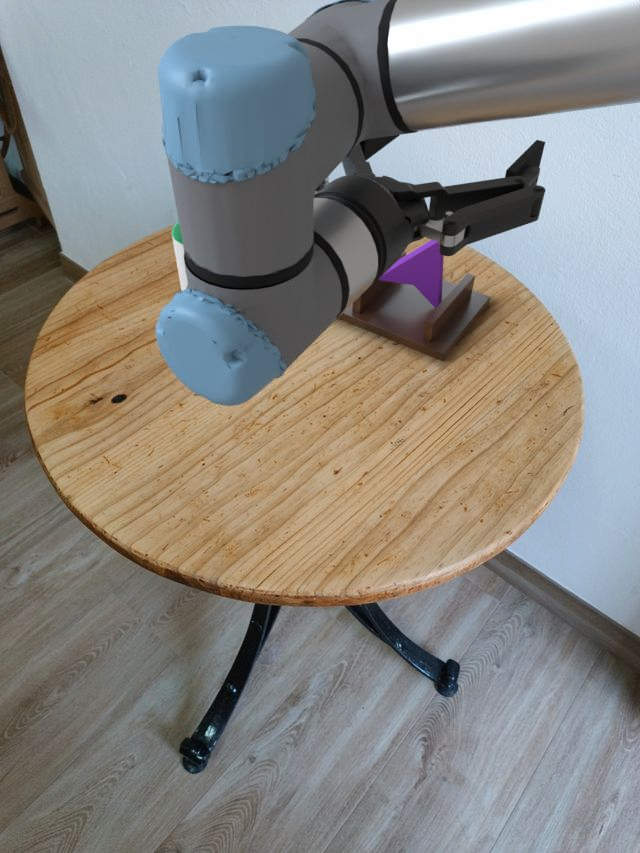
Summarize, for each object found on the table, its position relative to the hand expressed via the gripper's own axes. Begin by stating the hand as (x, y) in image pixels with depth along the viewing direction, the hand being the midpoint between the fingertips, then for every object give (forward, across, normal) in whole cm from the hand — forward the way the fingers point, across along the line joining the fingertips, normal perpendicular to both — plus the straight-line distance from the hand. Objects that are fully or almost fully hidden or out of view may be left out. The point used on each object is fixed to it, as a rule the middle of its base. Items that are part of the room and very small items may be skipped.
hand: (464, 137), depth 61 cm
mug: (-3, -30, -29) cm, 42 cm away
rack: (+11, -8, -29) cm, 32 cm away
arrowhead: (+11, -9, -26) cm, 30 cm away
